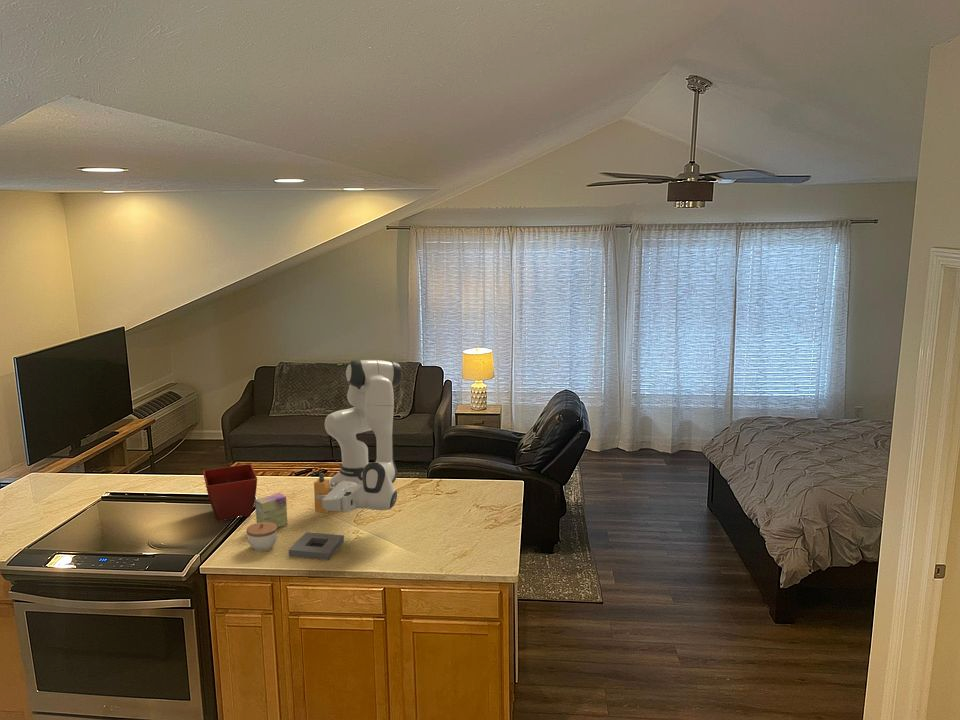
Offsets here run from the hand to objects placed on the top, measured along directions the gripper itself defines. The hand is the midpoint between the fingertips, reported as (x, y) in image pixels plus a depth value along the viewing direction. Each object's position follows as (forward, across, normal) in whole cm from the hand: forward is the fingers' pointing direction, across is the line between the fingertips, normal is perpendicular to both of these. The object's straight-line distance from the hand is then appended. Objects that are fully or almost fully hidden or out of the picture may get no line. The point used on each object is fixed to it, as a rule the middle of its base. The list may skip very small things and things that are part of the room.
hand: (319, 493), depth 280 cm
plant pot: (+41, -7, +16) cm, 45 cm away
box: (+20, +1, +15) cm, 25 cm away
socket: (-5, +16, +14) cm, 22 cm away
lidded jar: (+15, +19, +15) cm, 28 cm away
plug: (-1, 0, +7) cm, 7 cm away
